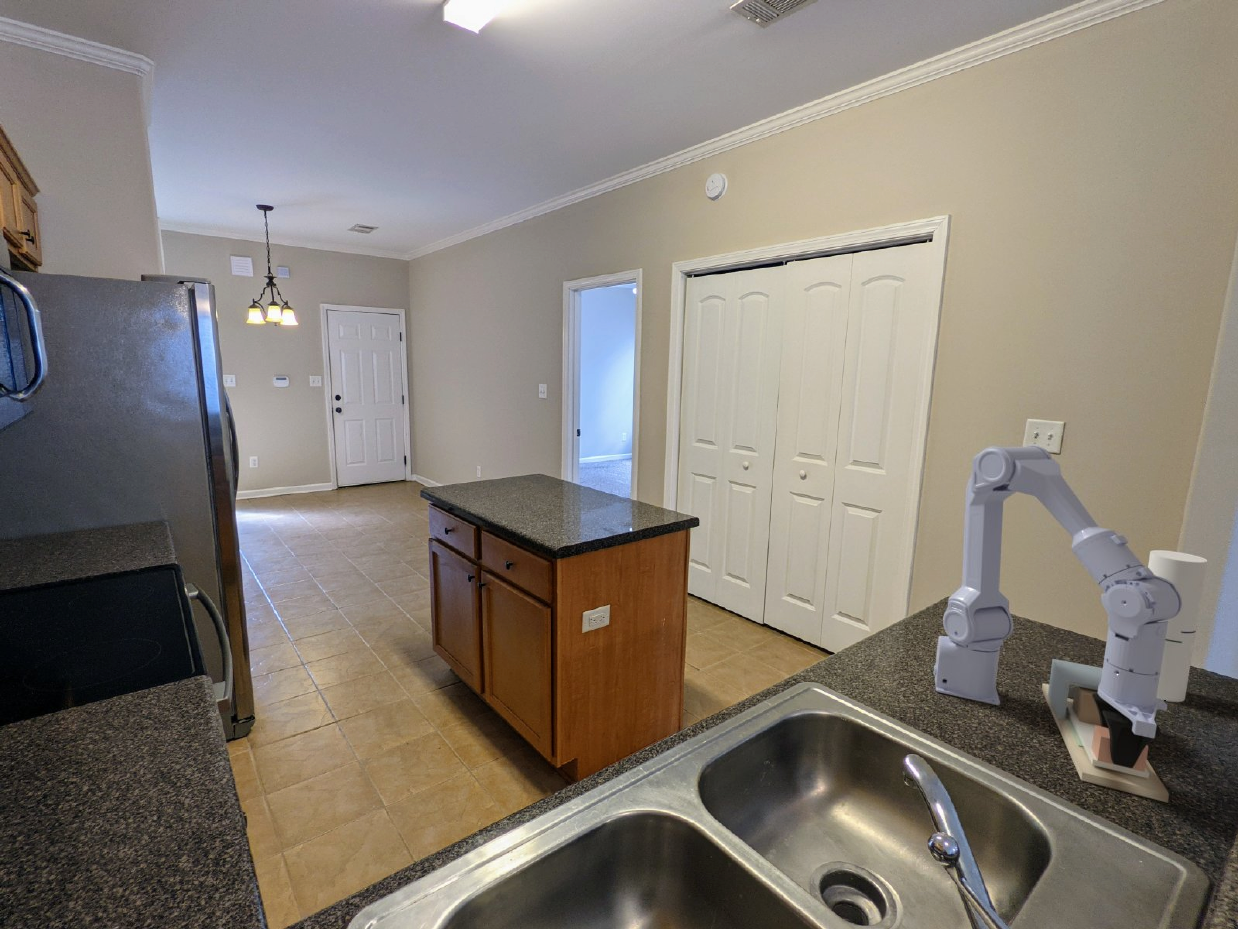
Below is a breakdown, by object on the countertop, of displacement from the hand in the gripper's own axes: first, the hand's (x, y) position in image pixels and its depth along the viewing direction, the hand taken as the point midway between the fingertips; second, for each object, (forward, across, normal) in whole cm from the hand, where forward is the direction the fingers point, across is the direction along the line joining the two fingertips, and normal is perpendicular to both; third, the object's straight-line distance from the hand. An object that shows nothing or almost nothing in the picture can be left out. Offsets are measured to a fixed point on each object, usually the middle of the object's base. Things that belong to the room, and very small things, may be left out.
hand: (1117, 757), depth 80 cm
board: (+3, +10, 0) cm, 10 cm away
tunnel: (+3, +15, 0) cm, 15 cm away
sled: (+1, +7, 0) cm, 7 cm away
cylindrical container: (+3, +33, -14) cm, 36 cm away
